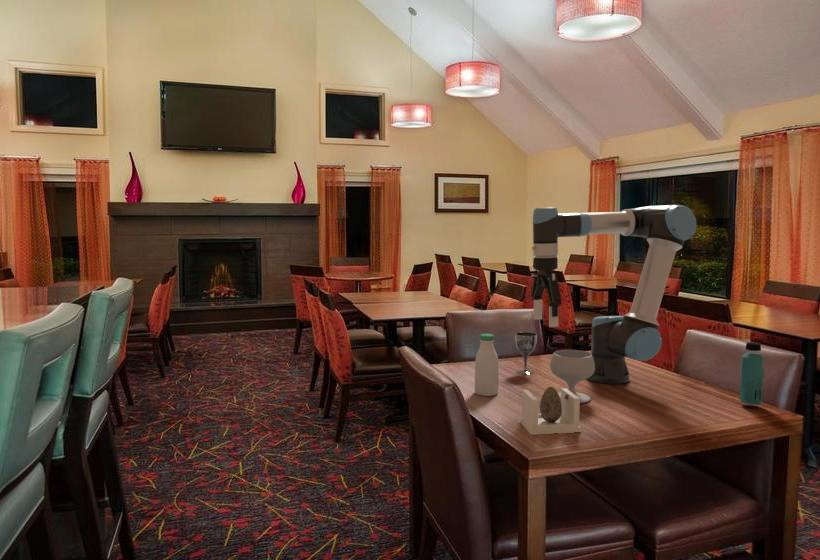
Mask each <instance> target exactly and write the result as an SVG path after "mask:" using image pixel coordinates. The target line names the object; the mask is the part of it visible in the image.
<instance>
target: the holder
mask: <svg viewBox="0 0 820 560" xmlns="http://www.w3.org/2000/svg"><path fill="white" fill-rule="evenodd" d="M560 390H561V391H560V392H561V405H562V413H561V416H560V418H559V419H558V420H557V421H556V422H553V423H550V422H547V421H545V420H544V419H543V418H542V416H541V413H539V405H540V403H539V399H538V398H537V397H536V395H534V394H533V393H531V391H530V390H529V389H522V391H521V393H522V394H521V397H522V398H521V416H520V417H519V423H520V424H521V425H522V427H523V428H524V429H525V430H526V431H527V432H528V434H530V435H532V436H533V435H555V434H554V433H558V434H575V433H574V432H581V433H582V431H581V430H582V427H581V426H580V407H581V406H580V404H581V403H580V398H578V397H577V396H576V395H574V394H573V393H572V392H570V391H569V388H564V387H563V388H561V389H560Z"/></svg>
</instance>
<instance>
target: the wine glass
mask: <svg viewBox="0 0 820 560" xmlns="http://www.w3.org/2000/svg"><path fill="white" fill-rule="evenodd" d="M514 337H515V338H514V339H515V345H516V348H517V350H518V351H519V352H520V354H521V355H522V357H523V360H524V361H523V362H524V363H523V364H524V366H523V367H524V368H523V369H520V370H516V371H517V372H515V373H516V374H517V375H520V374H521V375H523V376H531V375H535V374H536V372H535V371H532V370H528V369H527V368H528V367H527V366H528V365H527V364H528V363H527V362H528V358H529V356H530V355H531V354H532V352H533V351H535V349H536V346H537V338H538V335H537V333H536V332H533V331H532V332H531V331H518V332H515V336H514Z"/></svg>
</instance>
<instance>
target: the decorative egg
mask: <svg viewBox="0 0 820 560" xmlns="http://www.w3.org/2000/svg"><path fill="white" fill-rule="evenodd" d="M558 392H559V391H557V390H556V388H555V387H554V386H553V387H552V386H550V387H547V388H546V389H545V390H544V392H543V394H542V396H541V400H540V403H539V414H541V416H542V418H543V419H544V420H545V421H547V422H550V423H553V422H556V421H557V420H558V419H559V418H560V416H561V413H562V405H561V400H560V397H559V394H558Z"/></svg>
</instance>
